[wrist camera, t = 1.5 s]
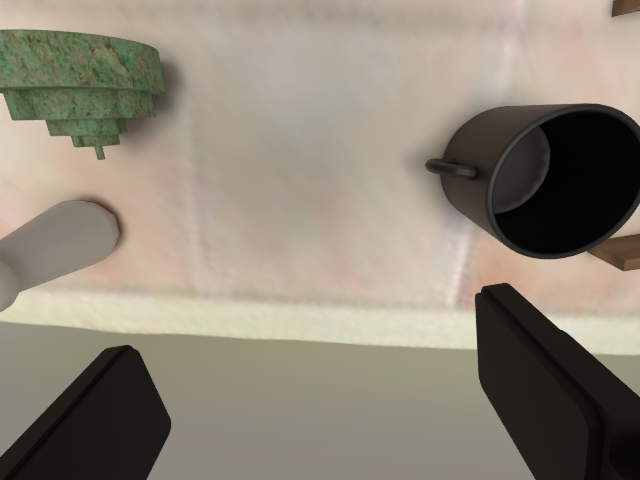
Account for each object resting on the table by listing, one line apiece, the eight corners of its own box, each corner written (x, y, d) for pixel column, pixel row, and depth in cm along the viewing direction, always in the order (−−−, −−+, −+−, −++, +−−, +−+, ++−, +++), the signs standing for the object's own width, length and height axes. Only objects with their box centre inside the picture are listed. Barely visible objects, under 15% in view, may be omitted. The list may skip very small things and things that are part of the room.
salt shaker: (61, 238, 31) (-107, 316, 19) (71, 184, 29) (-109, 233, 17) (121, 262, 32) (-3, 352, 20) (135, 210, 30) (6, 276, 18)
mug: (423, 96, 26) (468, 88, 18) (570, 113, 26) (684, 113, 18) (400, 209, 30) (429, 248, 21) (531, 224, 30) (611, 267, 21)
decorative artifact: (182, 57, 26) (98, 26, 16) (196, 150, 28) (131, 169, 19) (57, 61, 26) (-96, 32, 17) (82, 152, 28) (-38, 172, 19)
